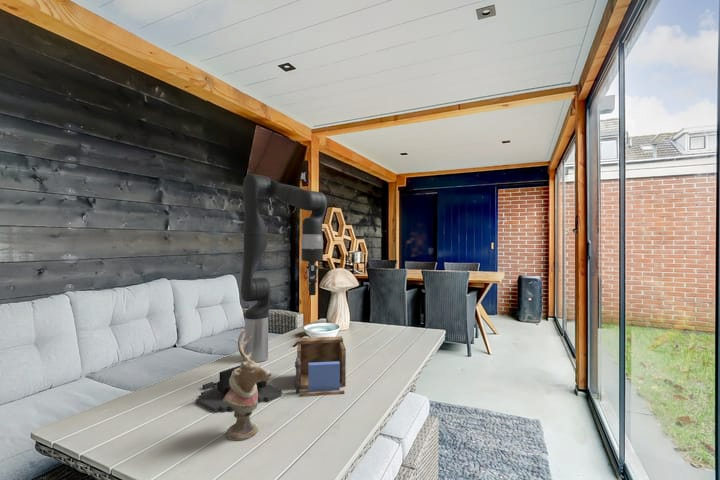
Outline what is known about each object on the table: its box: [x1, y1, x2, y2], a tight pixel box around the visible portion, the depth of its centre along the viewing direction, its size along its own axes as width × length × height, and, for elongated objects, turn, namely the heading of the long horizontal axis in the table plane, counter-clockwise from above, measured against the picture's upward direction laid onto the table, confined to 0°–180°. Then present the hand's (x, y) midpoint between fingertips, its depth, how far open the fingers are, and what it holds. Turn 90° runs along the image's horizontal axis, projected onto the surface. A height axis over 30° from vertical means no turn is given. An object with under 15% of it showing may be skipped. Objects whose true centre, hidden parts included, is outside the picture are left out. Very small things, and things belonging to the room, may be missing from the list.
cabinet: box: [294, 335, 347, 397], centre depth 120 cm, size 17×18×14 cm
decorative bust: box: [223, 330, 272, 441], centre depth 90 cm, size 11×13×25 cm
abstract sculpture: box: [195, 365, 282, 414], centre depth 111 cm, size 25×9×20 cm
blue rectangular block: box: [307, 361, 341, 392], centre depth 114 cm, size 10×2×9 cm, turn 99°
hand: (312, 293), depth 125 cm, fingers open, 8 cm apart
